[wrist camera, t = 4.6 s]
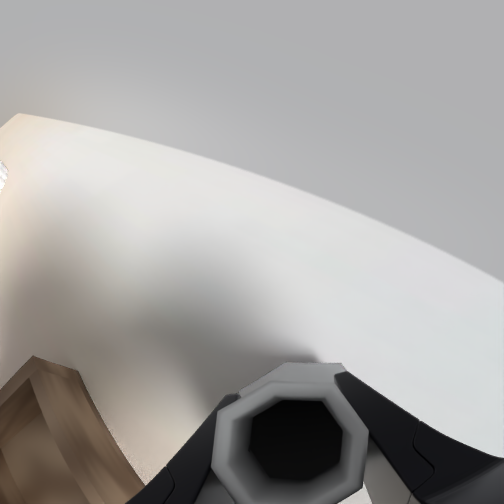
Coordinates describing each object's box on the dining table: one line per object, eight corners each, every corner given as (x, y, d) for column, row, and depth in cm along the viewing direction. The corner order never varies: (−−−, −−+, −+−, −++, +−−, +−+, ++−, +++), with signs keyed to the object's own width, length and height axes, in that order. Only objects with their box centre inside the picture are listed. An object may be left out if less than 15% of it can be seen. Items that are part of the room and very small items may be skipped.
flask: (220, 378, 15) (110, 327, 7) (351, 342, 15) (397, 245, 7) (249, 501, 12) (166, 590, 3) (387, 465, 11) (481, 521, 3)
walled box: (190, 539, 11) (156, 566, 7) (74, 576, 9) (38, 588, 5) (77, 370, 18) (32, 355, 14) (-2, 442, 15) (-40, 436, 11)
